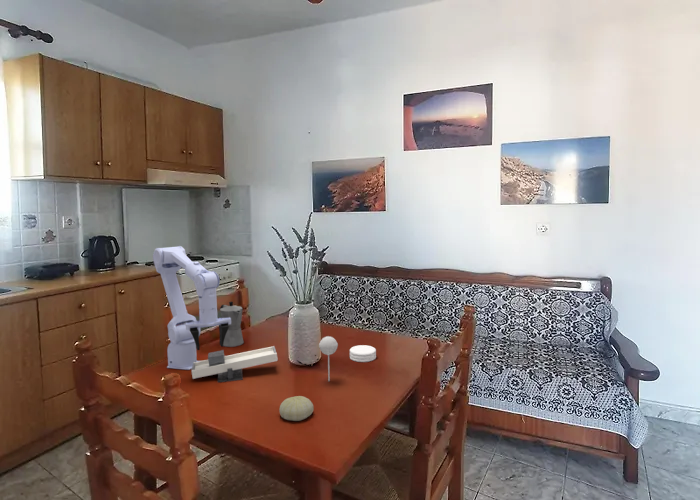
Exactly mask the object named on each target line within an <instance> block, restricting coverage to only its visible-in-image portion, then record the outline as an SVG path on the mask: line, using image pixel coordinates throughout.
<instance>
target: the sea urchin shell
mask: <svg viewBox="0 0 700 500" xmlns="http://www.w3.org/2000/svg"><path fill="white" fill-rule="evenodd" d="M278 411H279V414H280V416H281V418H282V419H284V420H287V421H293V422H301V421H303V420H306V419H307V418H308V417H310V416H311V415H312V414H313V412H314V404H313V402H312V401H311V400H310V399H309V398H307V397H306V396H302V395H298V396H297V395H296V396H291V397H287V398H285V399H284V400H283V401H282V402H281V403H280V405H279V410H278Z"/></svg>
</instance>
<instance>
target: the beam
mask: <svg viewBox="0 0 700 500" xmlns="http://www.w3.org/2000/svg"><path fill="white" fill-rule="evenodd" d="M224 357H225V364H220V365H215V366H210V367H209V361H208V359H204V360H198V361H199V362H194V363H193V366H192V369H191V375H192V380H194V379H199V378H202V377H204V378H205V377H208V376H213V375H218V373H223V372H227V369H229V368H232V370H237V369H242V370H243V369H246V368H251V367H255V366H259V365H264V364H269V363H273V362H277V361H278V353H277V351H276V347H275V345H273V346H269V347H262V348H259V349H253V350H248V351H243V352H240V353H239V352H238V353H234V354H230V355H224Z"/></svg>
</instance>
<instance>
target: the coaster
mask: <svg viewBox="0 0 700 500" xmlns="http://www.w3.org/2000/svg"><path fill="white" fill-rule="evenodd" d="M376 358H377V349H376V348H375V347H373V346H371V345H364V344H362V345H361V344H360V345H354V346H352V347H351V348H350V349H349V359H350V360H352V361H354V362H358V363H368V362H372V361H374V360H376Z"/></svg>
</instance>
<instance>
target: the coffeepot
mask: <svg viewBox="0 0 700 500" xmlns="http://www.w3.org/2000/svg"><path fill="white" fill-rule="evenodd" d="M228 303H229V305H227V304H221V306H220V307H219V308H220V309H219V311H220V315H221V318H229V317H230V318H231V324H228V326H229V329H228V331H227V333H226V335H225V338H224V343H223V346H222V347H226V348H234V347H239V346H241V345H243V344H244V343H245V341H244V338H243V332H242V328H241V324H242V318H243V307H242V306H240V305H239V306H238V305H233V304H234V301H229V302H228Z"/></svg>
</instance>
